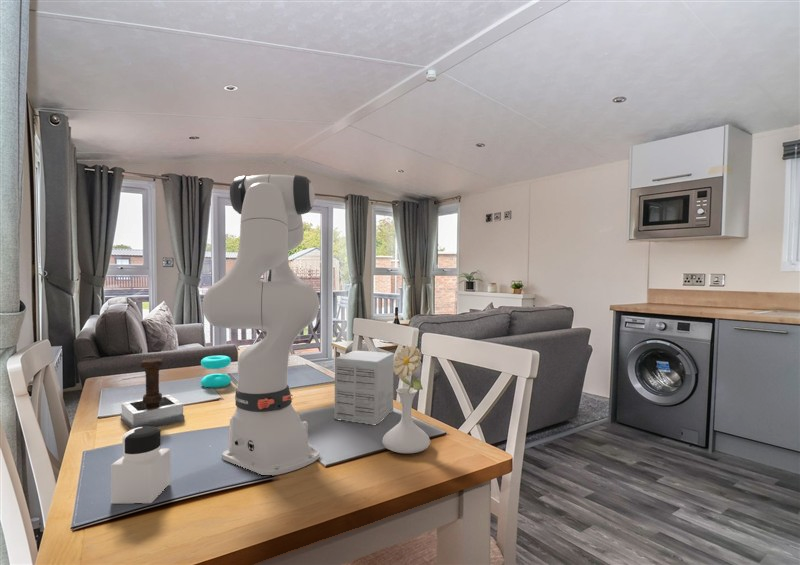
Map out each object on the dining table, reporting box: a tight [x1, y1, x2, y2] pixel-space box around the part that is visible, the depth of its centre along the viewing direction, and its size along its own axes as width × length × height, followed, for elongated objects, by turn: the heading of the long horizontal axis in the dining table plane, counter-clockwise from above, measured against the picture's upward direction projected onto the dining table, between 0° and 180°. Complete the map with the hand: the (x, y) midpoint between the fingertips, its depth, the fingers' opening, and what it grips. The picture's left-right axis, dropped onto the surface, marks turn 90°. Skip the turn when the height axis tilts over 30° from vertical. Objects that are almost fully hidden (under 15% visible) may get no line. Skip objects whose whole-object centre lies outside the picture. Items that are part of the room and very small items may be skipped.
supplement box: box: [334, 349, 395, 425], centre depth 124 cm, size 13×13×18 cm
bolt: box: [140, 357, 164, 409], centre depth 119 cm, size 6×5×15 cm
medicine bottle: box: [110, 426, 172, 505], centre depth 80 cm, size 7×7×12 cm
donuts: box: [200, 354, 232, 389], centre depth 155 cm, size 10×10×10 cm
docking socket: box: [120, 394, 185, 430], centre depth 119 cm, size 14×12×4 cm
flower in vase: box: [381, 344, 431, 454], centre depth 101 cm, size 13×11×25 cm
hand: (225, 320), depth 132 cm, fingers open, 8 cm apart
